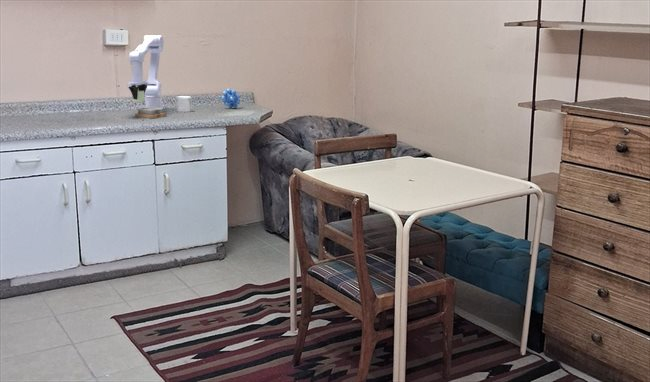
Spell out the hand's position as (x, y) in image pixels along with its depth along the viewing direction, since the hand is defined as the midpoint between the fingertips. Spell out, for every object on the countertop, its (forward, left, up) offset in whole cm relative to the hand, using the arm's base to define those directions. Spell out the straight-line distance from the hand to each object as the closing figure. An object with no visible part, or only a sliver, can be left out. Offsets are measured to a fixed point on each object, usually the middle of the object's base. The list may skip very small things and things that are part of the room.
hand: (138, 98), depth 398 cm
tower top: (-3, +6, -8) cm, 10 cm away
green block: (0, 0, -2) cm, 2 cm away
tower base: (-3, +6, -10) cm, 12 cm away
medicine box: (-31, +7, -10) cm, 33 cm away
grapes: (-56, +23, -10) cm, 61 cm away
